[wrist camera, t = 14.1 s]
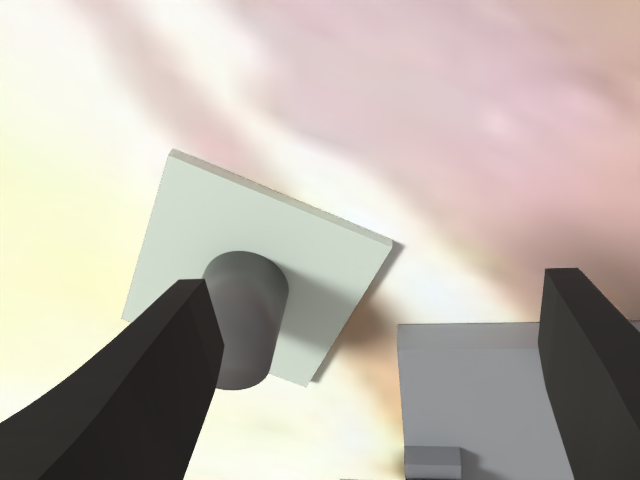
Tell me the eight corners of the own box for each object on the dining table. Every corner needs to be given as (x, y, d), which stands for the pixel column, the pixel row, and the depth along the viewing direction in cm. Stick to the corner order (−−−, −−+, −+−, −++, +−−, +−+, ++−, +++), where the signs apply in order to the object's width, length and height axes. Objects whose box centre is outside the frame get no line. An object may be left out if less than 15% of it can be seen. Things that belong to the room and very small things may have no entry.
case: (817, 318, 23) (858, 366, 21) (725, 523, 30) (748, 573, 28) (397, 324, 25) (397, 367, 23) (411, 510, 33) (411, 555, 31)
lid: (392, 232, 23) (390, 317, 19) (309, 371, 28) (293, 461, 24) (176, 143, 22) (125, 213, 18) (129, 304, 27) (81, 387, 23)
